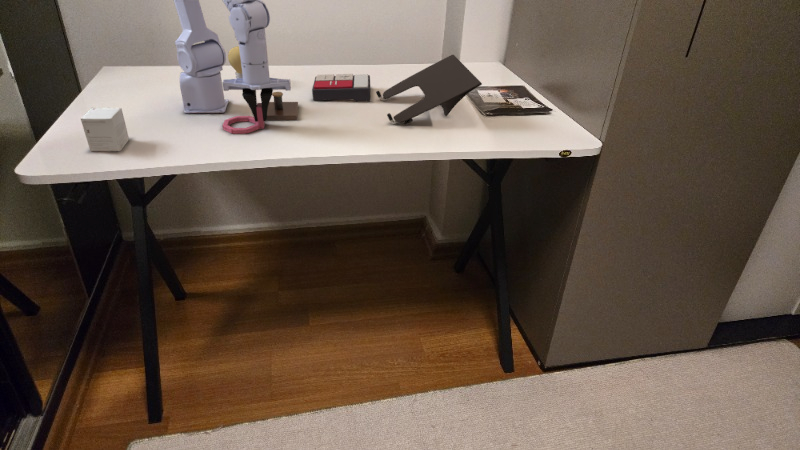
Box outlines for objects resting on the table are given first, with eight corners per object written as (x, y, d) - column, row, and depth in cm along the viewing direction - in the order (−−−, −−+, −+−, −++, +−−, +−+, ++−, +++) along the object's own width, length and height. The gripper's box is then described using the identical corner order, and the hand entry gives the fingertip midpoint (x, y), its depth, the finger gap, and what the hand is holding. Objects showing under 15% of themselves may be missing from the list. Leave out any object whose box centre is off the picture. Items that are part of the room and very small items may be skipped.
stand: (258, 120, 125) (256, 100, 122) (262, 106, 133) (260, 87, 130) (297, 120, 126) (295, 100, 124) (298, 106, 134) (297, 87, 131)
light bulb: (260, 82, 147) (256, 46, 141) (243, 88, 142) (238, 51, 137) (244, 77, 150) (239, 42, 144) (226, 83, 145) (221, 46, 140)
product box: (89, 151, 108) (79, 118, 104) (100, 139, 113) (90, 106, 109) (120, 151, 109) (111, 118, 105) (130, 139, 114) (121, 106, 110)
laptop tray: (387, 115, 146) (373, 87, 141) (462, 77, 144) (450, 46, 139) (405, 151, 128) (389, 120, 122) (490, 108, 126) (479, 74, 120)
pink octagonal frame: (221, 134, 118) (218, 112, 115) (226, 119, 125) (223, 98, 122) (263, 133, 119) (260, 111, 116) (265, 119, 126) (263, 98, 123)
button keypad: (315, 73, 144) (369, 72, 145) (316, 88, 147) (370, 87, 147) (311, 87, 135) (369, 85, 136) (313, 103, 137) (370, 101, 138)
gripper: (216, 66, 110) (226, 127, 117) (287, 66, 112) (292, 126, 119) (222, 56, 115) (230, 115, 123) (289, 56, 117) (293, 114, 125)
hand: (261, 119), depth 122 cm, fingers closed on pink octagonal frame
